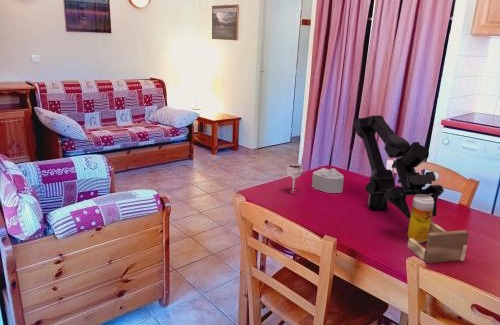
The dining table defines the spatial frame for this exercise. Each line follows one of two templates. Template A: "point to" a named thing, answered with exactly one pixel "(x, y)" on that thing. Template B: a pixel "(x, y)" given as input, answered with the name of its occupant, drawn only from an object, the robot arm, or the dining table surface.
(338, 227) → the dining table surface
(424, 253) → the shelf
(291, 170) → the wineglass
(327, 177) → the grey lumpy block
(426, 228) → the beer can
